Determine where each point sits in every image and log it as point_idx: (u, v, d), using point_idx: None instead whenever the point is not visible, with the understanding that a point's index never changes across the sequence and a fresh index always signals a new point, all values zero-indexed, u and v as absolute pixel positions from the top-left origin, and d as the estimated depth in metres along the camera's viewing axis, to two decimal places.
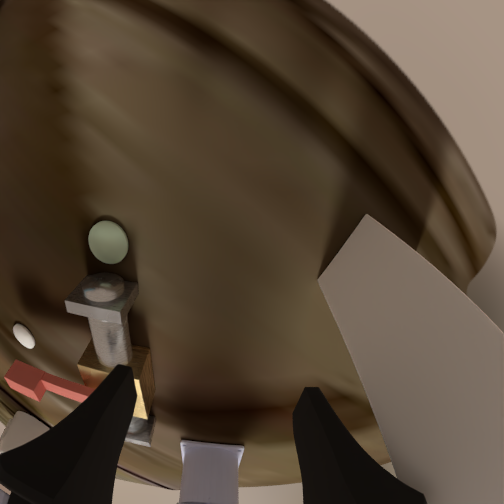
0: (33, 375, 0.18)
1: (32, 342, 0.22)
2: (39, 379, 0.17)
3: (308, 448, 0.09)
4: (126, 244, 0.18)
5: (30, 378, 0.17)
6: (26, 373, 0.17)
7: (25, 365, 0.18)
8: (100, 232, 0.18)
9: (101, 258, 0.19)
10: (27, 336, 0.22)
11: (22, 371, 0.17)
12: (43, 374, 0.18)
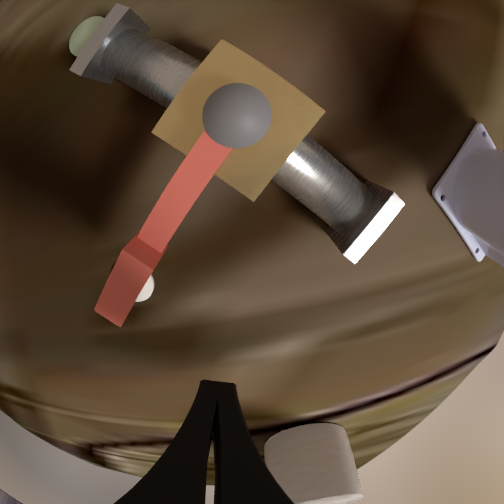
0: None
1: None
2: (133, 238, 0.12)
3: (216, 446, 0.08)
4: (100, 17, 0.11)
5: None
6: None
7: None
8: (77, 38, 0.12)
9: None
10: None
11: None
12: (140, 232, 0.13)
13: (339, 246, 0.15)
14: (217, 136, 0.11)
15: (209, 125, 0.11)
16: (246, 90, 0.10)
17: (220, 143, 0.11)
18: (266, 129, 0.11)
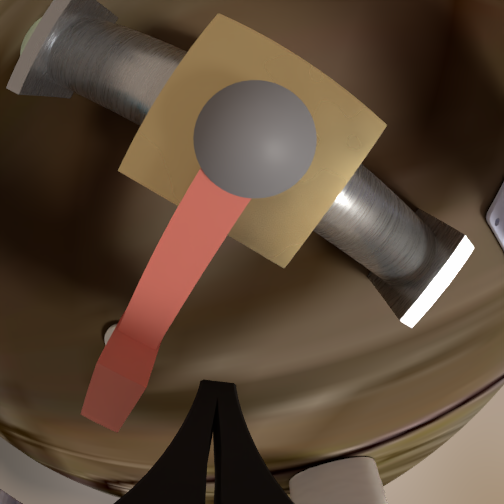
0: None
1: None
2: (113, 332, 0.08)
3: (216, 446, 0.08)
4: None
5: None
6: None
7: None
8: None
9: None
10: None
11: None
12: None
13: (392, 306, 0.11)
14: (222, 178, 0.06)
15: (207, 159, 0.06)
16: (269, 93, 0.06)
17: (229, 190, 0.07)
18: (308, 162, 0.06)
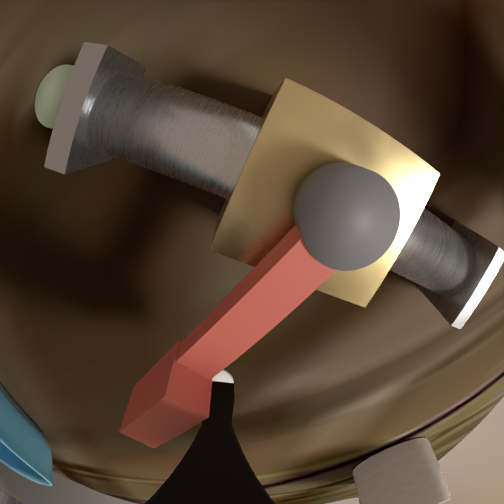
0: (161, 371, 0.09)
1: (220, 372, 0.16)
2: (172, 363, 0.09)
3: None
4: (67, 65, 0.09)
5: (157, 382, 0.09)
6: (149, 383, 0.09)
7: (147, 375, 0.10)
8: (43, 103, 0.09)
9: None
10: None
11: (143, 389, 0.09)
12: (178, 348, 0.09)
13: (443, 313, 0.11)
14: (319, 251, 0.07)
15: (310, 232, 0.07)
16: (374, 183, 0.06)
17: (321, 261, 0.07)
18: (388, 247, 0.07)
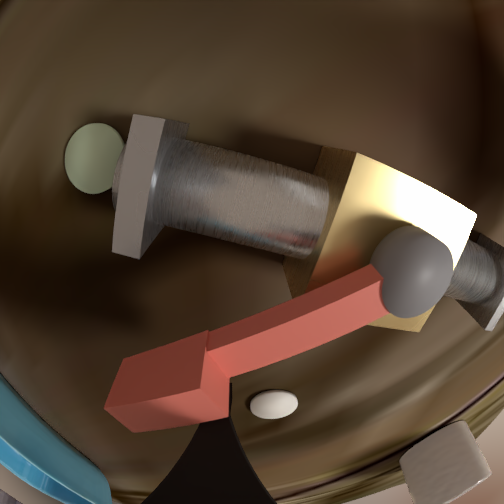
0: (180, 356, 0.09)
1: (285, 395, 0.17)
2: (202, 352, 0.08)
3: None
4: (96, 123, 0.10)
5: (175, 367, 0.08)
6: (159, 365, 0.09)
7: (150, 353, 0.09)
8: (76, 166, 0.11)
9: (113, 175, 0.11)
10: (272, 399, 0.17)
11: (147, 368, 0.09)
12: (207, 338, 0.09)
13: (477, 319, 0.12)
14: (389, 294, 0.08)
15: (391, 277, 0.08)
16: (445, 258, 0.07)
17: (385, 303, 0.08)
18: (429, 308, 0.08)
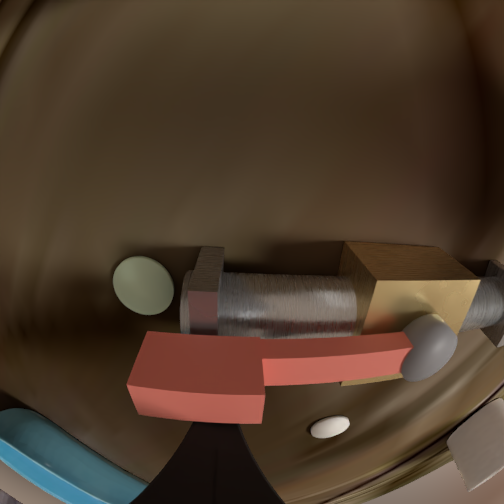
0: (232, 355, 0.09)
1: (338, 419, 0.18)
2: (259, 359, 0.09)
3: None
4: (136, 259, 0.12)
5: (228, 365, 0.08)
6: (205, 356, 0.08)
7: (187, 338, 0.09)
8: (128, 295, 0.13)
9: (167, 299, 0.13)
10: (328, 424, 0.19)
11: (187, 354, 0.08)
12: (259, 344, 0.09)
13: (490, 338, 0.13)
14: (410, 359, 0.09)
15: (418, 348, 0.09)
16: (451, 348, 0.09)
17: (404, 364, 0.09)
18: (423, 378, 0.10)
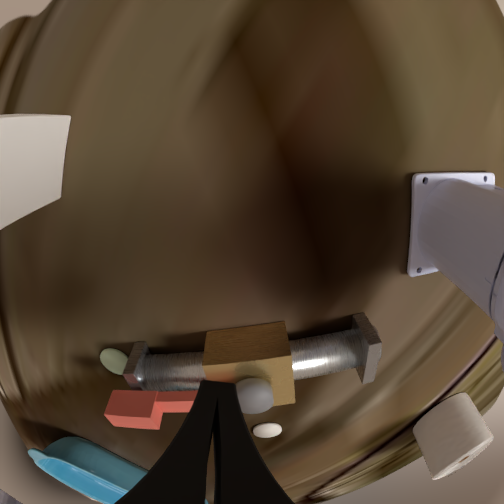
0: (143, 400, 0.17)
1: (269, 425, 0.27)
2: (153, 401, 0.17)
3: (216, 446, 0.08)
4: (107, 350, 0.22)
5: (140, 404, 0.17)
6: (133, 400, 0.17)
7: (128, 392, 0.18)
8: (110, 366, 0.23)
9: None
10: (263, 428, 0.27)
11: (126, 400, 0.17)
12: (156, 394, 0.18)
13: (359, 375, 0.20)
14: None
15: None
16: (268, 398, 0.17)
17: None
18: (259, 412, 0.18)
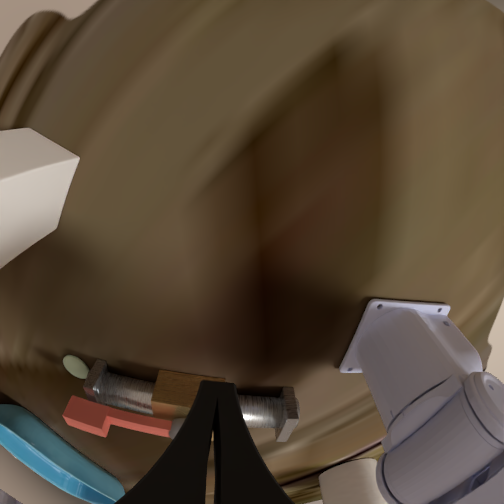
0: (97, 412, 0.19)
1: None
2: (105, 416, 0.19)
3: (216, 446, 0.08)
4: (71, 357, 0.22)
5: (94, 415, 0.18)
6: (88, 410, 0.19)
7: (84, 401, 0.19)
8: (70, 369, 0.23)
9: (86, 374, 0.23)
10: None
11: (83, 408, 0.19)
12: (108, 410, 0.19)
13: (275, 433, 0.23)
14: (171, 434, 0.20)
15: (173, 431, 0.19)
16: None
17: (169, 435, 0.20)
18: None
